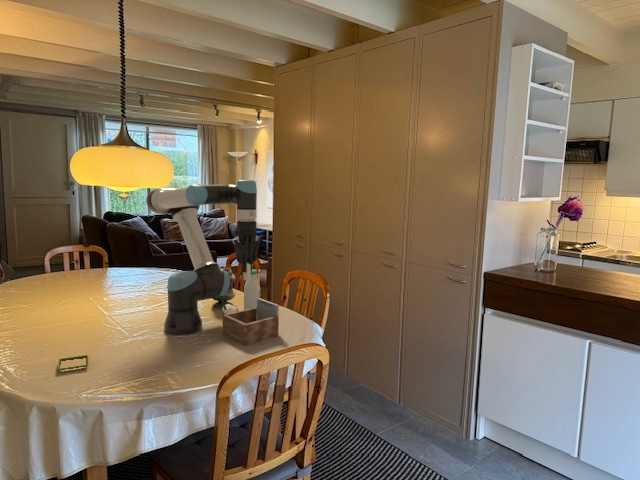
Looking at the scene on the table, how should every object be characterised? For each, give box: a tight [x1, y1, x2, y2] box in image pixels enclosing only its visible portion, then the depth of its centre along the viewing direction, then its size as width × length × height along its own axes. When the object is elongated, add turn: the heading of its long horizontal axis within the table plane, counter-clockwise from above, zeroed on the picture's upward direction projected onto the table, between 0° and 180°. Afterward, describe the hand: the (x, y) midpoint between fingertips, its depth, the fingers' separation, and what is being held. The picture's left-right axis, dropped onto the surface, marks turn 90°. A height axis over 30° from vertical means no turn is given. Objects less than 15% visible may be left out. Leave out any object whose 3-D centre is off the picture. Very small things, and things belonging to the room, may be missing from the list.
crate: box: [222, 308, 280, 346], centre depth 177 cm, size 16×16×8 cm
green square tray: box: [57, 354, 89, 371], centre depth 145 cm, size 9×9×2 cm
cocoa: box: [220, 295, 239, 315], centre depth 194 cm, size 10×6×12 cm, turn 113°
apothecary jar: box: [211, 267, 236, 309], centre depth 215 cm, size 12×12×18 cm
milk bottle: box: [243, 268, 261, 310], centre depth 207 cm, size 8×8×20 cm
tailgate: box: [257, 297, 279, 321], centre depth 182 cm, size 2×13×10 cm, turn 44°
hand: (247, 279), depth 173 cm, fingers closed
